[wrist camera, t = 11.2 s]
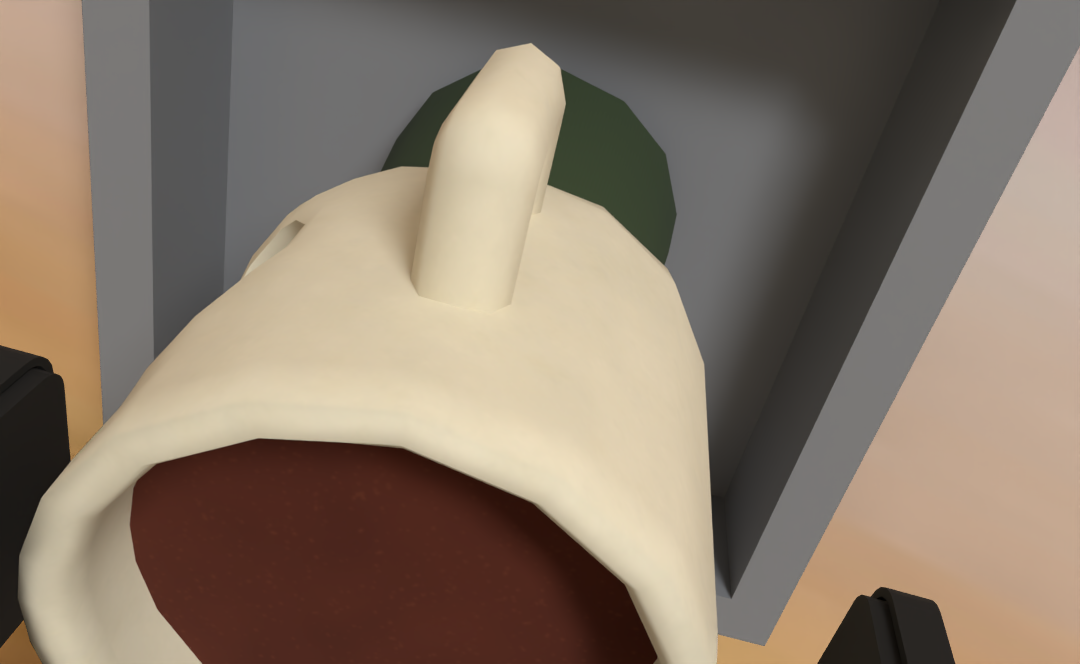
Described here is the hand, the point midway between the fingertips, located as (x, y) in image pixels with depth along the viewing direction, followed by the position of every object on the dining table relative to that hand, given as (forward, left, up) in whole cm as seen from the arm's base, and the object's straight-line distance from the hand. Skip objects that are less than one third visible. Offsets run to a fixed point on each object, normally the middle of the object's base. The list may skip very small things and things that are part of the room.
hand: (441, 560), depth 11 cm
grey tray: (+1, 0, -12) cm, 12 cm away
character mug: (0, 0, -11) cm, 11 cm away
